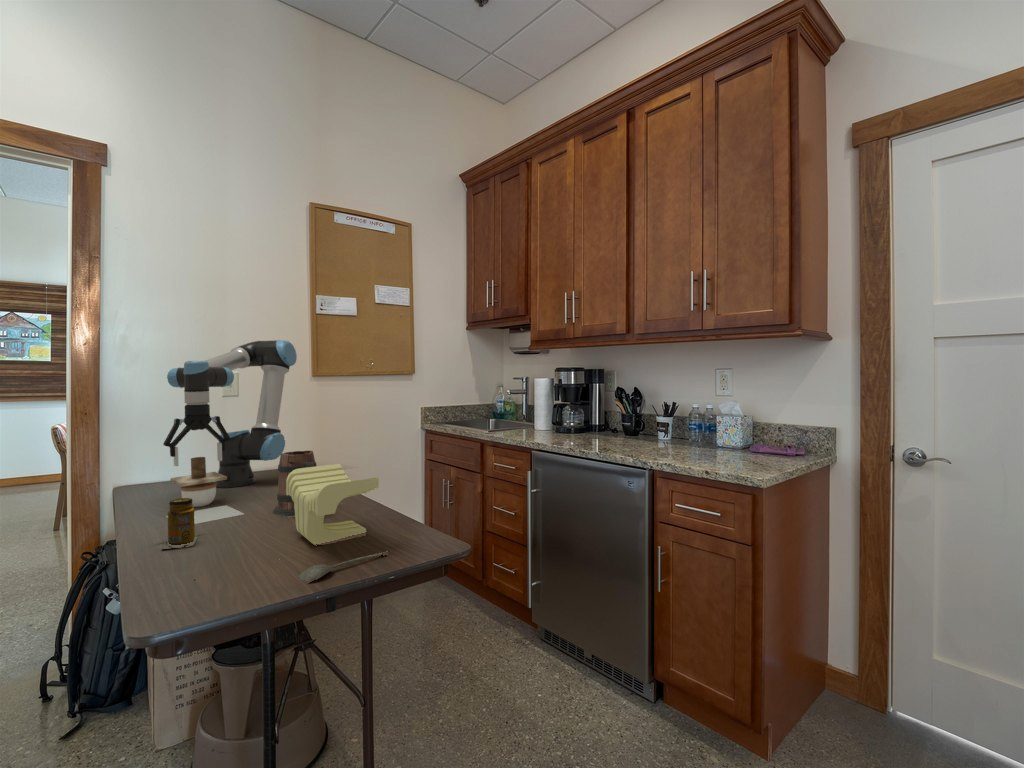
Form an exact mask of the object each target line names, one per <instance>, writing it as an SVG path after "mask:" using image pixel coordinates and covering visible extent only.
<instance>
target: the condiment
mask: <svg viewBox="0 0 1024 768" xmlns="http://www.w3.org/2000/svg"><path fill="white" fill-rule="evenodd" d="M192 501H193V500H192V499H191V498H182V497H181V498H176V499H172V500H170V501H169V503H168V505H169V507H168V509H169V511H168V512H167V516H168V518H167V538H168V539H167V541H168V543H169V544H171V545H181V544H187V543H190V542H193V541H194V538H196V536H195V533H196V532H195V531H196V530H195V528H196V527H195V525H196V524H195V523H194V511H195V507H192V506H193V504H192Z"/></svg>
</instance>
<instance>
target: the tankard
mask: <svg viewBox="0 0 1024 768" xmlns="http://www.w3.org/2000/svg"><path fill="white" fill-rule="evenodd" d="M314 454H315V453H314V451H313V450H295V451H287V452H282V454H281V455H280V456H279V463H278V465H277V471H278V481H277V482H278V485H277V487H278V488H277V489H278V490H277V492H278V493H277V495H276V500H277V505H276V506H275V507H274V508H273V510H272V514H274V515H277V516H294V515H295V509H294V502H293V500H292V498H291V496H290V495H286V480H287V477H288V475H289V474H290V473H291V472H292V471H293V470H295V469H299V468H307V467H315V466H317V462H316V460H315V459H316V458H315V455H314Z"/></svg>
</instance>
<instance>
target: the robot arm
mask: <svg viewBox="0 0 1024 768" xmlns="http://www.w3.org/2000/svg"><path fill="white" fill-rule="evenodd" d="M296 363H297V351H296V348H295V346H294V345H293V344H292V343H291V342H290V341H288V340H286V339H285V340H281V339H277V340H256V341H251V342H247V343H245V344H242V345H239V346H235V347H234V348H232V349H231V350H230V351H228V352H226V353H223V354H220V355H217V356H214V357H211V358H208V359H206V360H187V361H185V362H184V363H183V367H180V366H179V367H174V368H171V369H170V370H169V371H168V373H167V375H166V378H167V382H168V384H169V385H170V386H171V387H173V388H180V389H182V388H183V389H184V390H183V391H184V404H185V405H184V418H183V419H182V418H177V417H175V418H174V419H173V424H172V427H171V428H170V430H169V432H168V435H167V436H166V438H165V439H164V441H163V446H165V447H168V448H169V455H170V457H172V458H173V466H174V467H179V447H178V446H177V445H178V444H179V443H180V442H181V441H182V439H183V438H185V436H186V435H187V434H188V433H189V432H190V431H198V430H199V431H200V430H201V431H202V430H206V431H208V432H209V434H211V435H212V436H213V437H214V438H215V439H216V440H217V441H218V442H217V443H216V447H217V448H216V450H217V452H216V453H217V455H216V456H217V457H216V458H217V462H219V464H218V466H219V467H218V470H217V473H219V474H222V475H224V476H226V477H227V480H221V481H214V482H215V483H216V488H227V489H228V488H237V487H238V486H239V487H245V486H248V484H249V485H252V484H254V483H255V482H256V477H255V474H254V472H253V469H252V467H251V461H273V460H274V461H275V460H277V459H279V458H280V456H281V454H282V453H284V450H285V447H286V440H285V436H284V435H283V434H282V433H281V431H282V430H281V428H280V427H279V426H278V425H279V420H280V419H279V418H280V411H281V404H282V398H283V392H284V391H283V389H284V384H285V383H284V382H285V377H286V376H285V375H286V374H288V373H289V372H290V368H291V367H293V366H295V364H296ZM249 367H260V368H261V370H262V372H263V374H262V381H261V382H262V383H261V388H260V389H261V390H260V395H259V402H258V409H257V416H256V423H255V425H254V426H252V427H251V431H250V430H249V429H243V430H236V431H230V432H227V431H226V428H225V427H224V426H223V424H222V422H221V417H220V416H218V415H215V416H211V413H210V409H211V407H210V406H211V405H210V404H209V403H210V388H224V387H225V388H226V387H229V386H231V385H232V384H233V382H234V379H235V376H234V375H235V374H234V370H237V369H245V368H249ZM211 421H212V422H213V423H214V424H215V425H216V427H217V429H218V430H219V432H220V434H219V433H218V431H216V430H215V429H214V428H213V427H212V426H211V425H210V423H211ZM183 423H184V425H185V426H184V428H183V429H182V431H180V432H179V433H178V435H177V436H176V437H175V435H176V433H177V431H178V429H179V428H180V426H181V425H182V424H183ZM174 437H175V438H174ZM173 438H174V439H173ZM172 440H173V441H172ZM244 485H245V486H244ZM239 487H238V488H239Z"/></svg>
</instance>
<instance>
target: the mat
mask: <svg viewBox="0 0 1024 768" xmlns="http://www.w3.org/2000/svg"><path fill="white" fill-rule="evenodd" d="M242 515H245V513H244V512H241V511H240V510H238V509H235V508H233V507H231V506H229V505H221V506H220V505H219V506H215V507H209V508H204V509H197V510H194V523H195V524H194V525H197V524H202V523H207V522H212V521H217V520H222V519H228V518H233V517H237V516H242ZM165 518H167V519H168V515H165Z"/></svg>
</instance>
